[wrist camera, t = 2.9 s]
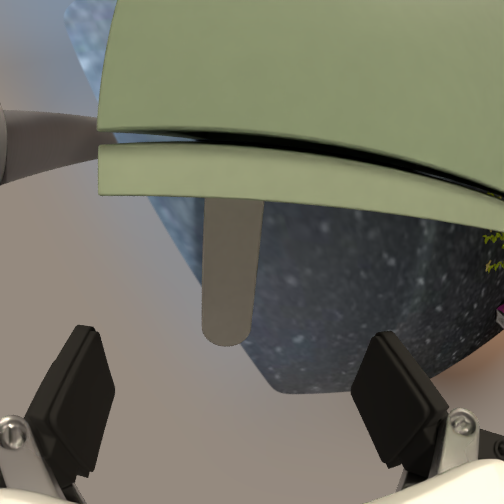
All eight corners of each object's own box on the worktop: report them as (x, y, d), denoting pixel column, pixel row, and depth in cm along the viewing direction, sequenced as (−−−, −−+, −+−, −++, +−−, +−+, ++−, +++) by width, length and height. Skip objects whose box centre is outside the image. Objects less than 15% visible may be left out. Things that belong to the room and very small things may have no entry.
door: (405, 233, 33) (550, 338, 11) (191, 218, 30) (138, 422, 7) (417, 172, 30) (587, 238, 8) (195, 141, 27) (97, 145, 5)
